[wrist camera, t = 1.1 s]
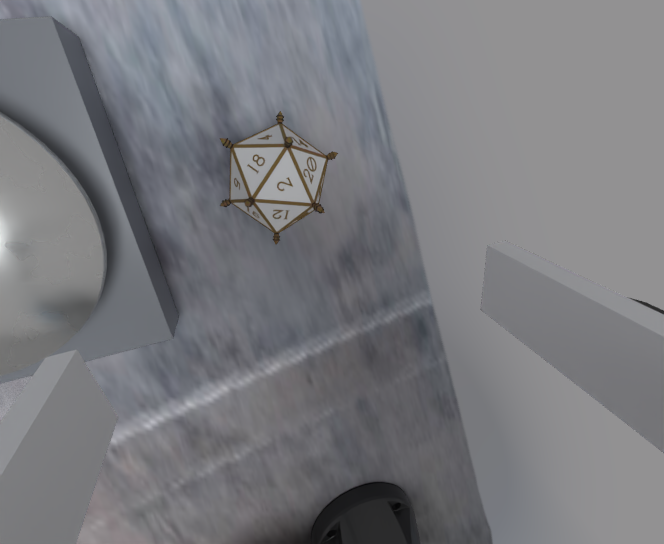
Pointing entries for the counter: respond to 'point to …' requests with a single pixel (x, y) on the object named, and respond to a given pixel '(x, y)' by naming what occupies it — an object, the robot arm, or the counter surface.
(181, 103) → the counter surface
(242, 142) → the game die
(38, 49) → the scale
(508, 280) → the robot arm
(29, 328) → the pan
